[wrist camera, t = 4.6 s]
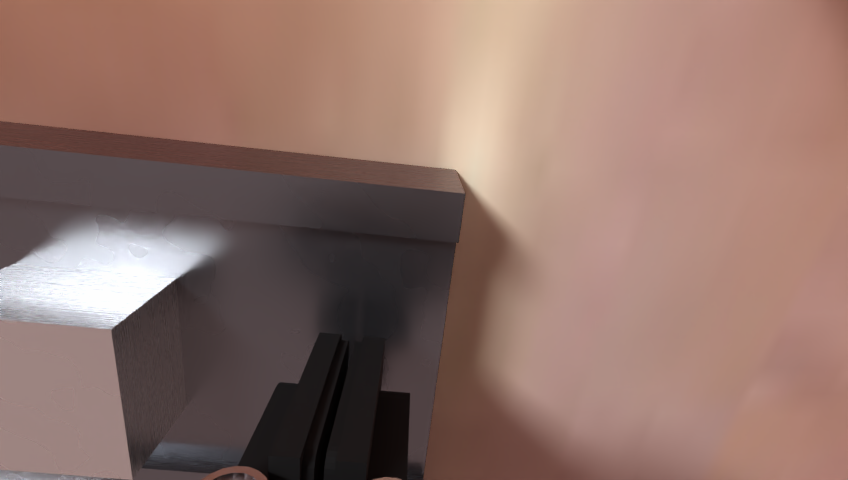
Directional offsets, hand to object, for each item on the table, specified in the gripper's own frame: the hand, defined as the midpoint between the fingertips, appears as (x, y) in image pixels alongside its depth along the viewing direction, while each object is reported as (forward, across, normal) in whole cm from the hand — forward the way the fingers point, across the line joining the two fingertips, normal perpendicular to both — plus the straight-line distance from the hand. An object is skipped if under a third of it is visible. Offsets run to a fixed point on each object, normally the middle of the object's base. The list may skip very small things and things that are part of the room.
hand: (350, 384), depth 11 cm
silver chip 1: (+1, +7, 0) cm, 7 cm away
